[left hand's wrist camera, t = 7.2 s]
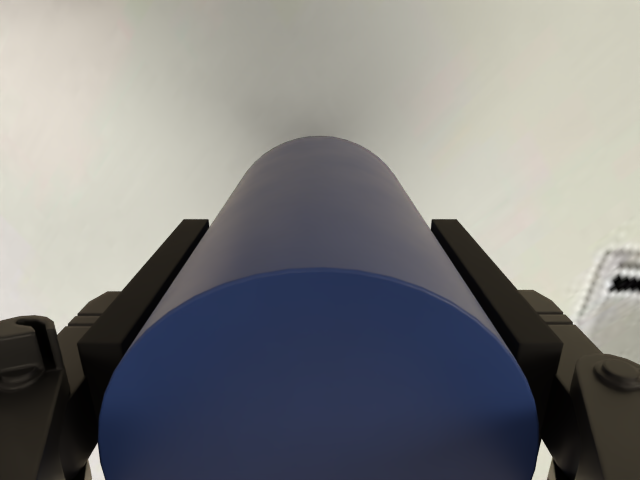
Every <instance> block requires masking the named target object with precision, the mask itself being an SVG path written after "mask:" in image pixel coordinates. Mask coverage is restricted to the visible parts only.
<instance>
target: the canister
mask: <svg viewBox="0 0 640 480" xmlns="http://www.w3.org/2000/svg"><path fill="white" fill-rule="evenodd" d="M98 448H99V456H100V463H101V467H102V470H103V473H104V477H105V480H532V477H533V474H534V471H535V467H536V461H537V456H538V450H539V422H538V416H537V411H536V405H535V400H534V398H533V395H532V392H531V389H530V387H529V384H528V381H527V379H526V377H525V375H524V373H523V372H522V370H521V368H520V366H519V365H518V363H517V361H516V359H515V358H514V356H513V355H512V353H511V351H510V350H509V348H508V347H507V345H506V344H505V342H504V341H503V339H502V338H501V336H500V335H499V333H498V332H497V330H496V329H495V327H494V326H493V324H492V323H491V321H490V320H489V318H488V317H487V315H486V313H485V312H484V310H483V309H482V307H481V306H480V304H479V303H478V301H477V300H476V298H475V297H474V295H473V294H472V292H471V291H470V289H469V288H468V286H467V285H466V283H465V282H464V280H463V278H462V277H461V275H460V274H459V272H458V271H457V269H456V268H455V266H454V265H453V263H452V262H451V260H450V259H449V257H448V256H447V254H446V253H445V251H444V250H443V248H442V247H441V245H440V244H439V242H438V240H437V239H436V237H435V236H434V234H433V233H432V231H431V230H430V228H429V227H428V225H427V224H426V222H425V221H424V219H423V218H422V216H421V215H420V213H419V212H418V210H417V209H416V207H415V206H414V204H413V202H412V201H411V199H410V198H409V196H408V195H407V193H406V192H405V190H404V189H403V187H402V186H401V184H400V183H399V181H398V180H397V178H396V177H395V175H394V174H393V172H392V171H391V170H390V169H389V167H388V166H387V165H386V164H385V163H384V162H383V161H382V160H381V159H380V158H379V157H377V156H376V155H375V154H373V153H372V152H371V151H369V150H368V149H366V148H364V147H362V146H360V145H358V144H356V143H353V142H350V141H348V140H344V139H340V138H335V137H327V136H311V137H304V138H298V139H294V140H291V141H288V142H285V143H283V144H281V145H279V146H277V147H275V148H273V149H271V150H270V151H268V152H267V153H265V154H264V155H263V156H261V157H260V158H259V159H258V160H257V161H256V162H255V163H254V164H253V165H252V166H251V167H250V168H249V169H248V171H247V172H246V173H245V175H244V176H243V178H242V179H241V181H240V182H239V184H238V185H237V187H236V188H235V190H234V191H233V193H232V194H231V196H230V197H229V199H228V200H227V202H226V203H225V205H224V206H223V208H222V209H221V211H220V212H219V214H218V215H217V217H216V218H215V220H214V221H213V223H212V224H211V226H210V227H209V229H208V230H207V232H206V233H205V235H204V236H203V238H202V239H201V241H200V242H199V244H198V245H197V247H196V248H195V250H194V251H193V253H192V254H191V256H190V257H189V259H188V260H187V262H186V263H185V265H184V266H183V268H182V269H181V271H180V272H179V274H178V275H177V277H176V278H175V280H174V281H173V283H172V284H171V286H170V287H169V289H168V290H167V292H166V293H165V295H164V296H163V298H162V299H161V301H160V302H159V304H158V305H157V307H156V308H155V310H154V311H153V313H152V314H151V316H150V317H149V319H148V320H147V322H146V323H145V325H144V326H143V328H142V329H141V331H140V332H139V334H138V335H137V337H136V338H135V340H134V341H133V343H132V344H131V346H130V347H129V349H128V350H127V352H126V353H125V355H124V356H123V358H122V359H121V361H120V363H119V364H118V366H117V367H116V369H115V370H114V372H113V374H112V377H111V379H110V381H109V384H108V386H107V388H106V391H105V393H104V397H103V401H102V405H101V410H100V414H99V424H98Z"/></svg>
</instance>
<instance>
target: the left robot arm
mask: <svg viewBox="0 0 640 480" xmlns="http://www.w3.org/2000/svg"><path fill="white" fill-rule="evenodd" d="M208 229H209V220H208V219H184V220H183V221H182V222H181V223H180V224H179V225H178V227H177V228H176V229H175V230H174V231H173V232H172V234H171V235H170V236H169V237H168V238H167V239H166V240H165V242H164V243H163V244H162V245H161V246H160V247H159V249H158V250H157V251H156V252H155V253H154V254H153V256H152V257H151V258H150V259H149V260H148V261H147V262H146V264H145V265H144V266H143V267H142V268H141V269H140V271H139V272H138V273H137V274H136V275H135V276H134V278H133V279H132V280H131V281H130V282H129V283H128V284H127V286H126V287H125V288H124V289H123V290H122V291H107V292H106V293H104V294H102V295H100V296H99V297H97V298H95V299H93V300H91V301H90V302H89V303H88V304H87V305H86V306H85V307H84V308H83V309H82V310H81V311H80V312H79V313H78V316H75V317H74V318H73V319H72V320H71V321H70V322H69V323H68V326H65V327H64V329H63V330H62V331H61V332H60V333H59V334H58V335H57V333H56V329H55V325H54V322H53V321H52V320H50V319H49V318H47V317H43V316H36V315H31V316H19V317H14V318H10V319H6V320H2V321H0V480H92V476H91V470H90V465H89V461H88V458H89V457H90V455H91V453H92V451H93V450H94V448H95V446H96V445H97V443H98V424H99V414H100V410H101V405H102V401H103V397H104V393H105V391H106V388H107V386H108V384H109V381H110V379H111V377H112V374H113V372H114V370H115V369H116V367H117V366H118V364H119V363H120V361H121V359H122V358H123V356H124V355H125V353H126V352H127V350H128V349H129V347H130V346H131V344H132V343H133V341H134V340H135V338H136V337H137V335H138V334H139V332H140V331H141V329H142V328H143V326H144V325H145V323H146V322H147V320H148V319H149V317H150V316H151V314H152V313H153V311H154V310H155V308H156V307H157V305H158V304H159V302H160V301H161V299H162V298H163V296H164V295H165V293H166V292H167V290H168V289H169V287H170V286H171V284H172V283H173V281H174V280H175V278H176V277H177V275H178V274H179V272H180V271H181V269H182V268H183V266H184V265H185V263H186V262H187V260H188V259H189V257H190V256H191V254H192V253H193V251H194V250H195V248H196V247H197V245H198V244H199V242H200V241H201V239H202V238H203V236H204V235H205V233H206V232H207V230H208ZM431 231H432V233H433V234H434V236H435V237H436V239H437V240H438V242H439V244H440V245H441V247H442V248H443V250H444V251H445V253H446V254H447V256H448V257H449V259H450V260H451V262H452V263H453V265H454V266H455V268H456V269H457V271H458V272H459V274H460V275H461V277H462V278H463V280H464V282H465V283H466V285H467V286H468V288H469V289H470V291H471V292H472V294H473V295H474V297H475V298H476V300H477V301H478V303H479V304H480V306H481V307H482V309H483V310H484V312H485V313H486V315H487V317H488V318H489V320H490V321H491V323H492V324H493V326H494V327H495V329H496V330H497V332H498V333H499V335H500V336H501V338H502V339H503V341H504V342H505V344H506V345H507V347H508V348H509V350H510V351H511V353H512V355H513V356H514V358H515V359H516V361H517V363H518V365H519V366H520V368H521V370H522V372H523V373H524V375H525V377H526V379H527V381H528V384H529V387H530V389H531V392H532V395H533V398H534V400H535V405H536V411H537V416H538V422H539V447H540V443H541V439H542V440H543V442H544V443H545V445H546V447H547V448H548V450H549V452H550V454H551V455H552V461H551V465H550V469H549V473H548V477H547V480H640V365H639V364H637V363H635V362H632V361H630V360H628V359H625V358H622V357H618V356H614V355H610V354H603V353H602V352H601V351H600V350H599V349H598V348H597V347H596V346H595V345H594V344H593V343H592V342H591V341H590V340H589V339H588V337H587V336H586V335H585V334H584V333H583V332H582V331H581V330H580V329H579V328H578V327H577V326H576V325H573V322H572V321H571V320H570V319H569V318H568V317H567V316H566V315H563V312H562V311H561V310H560V309H559V308H558V307H557V305H556V304H555V303H554V302H553V301H552V300H550V299H548V298H546V297H545V296H543V295H541V294H539V293H538V292H536V291H534V290H517V289H516V288H515V286H514V285H513V284H512V283H511V282H510V281H509V279H508V278H507V277H506V276H505V275H504V274H503V273H502V271H501V270H500V269H499V268H498V267H497V266H496V264H495V263H494V262H493V261H492V260H491V259H490V257H489V256H488V255H487V254H486V253H485V252H484V251H483V249H482V248H481V247H480V246H479V245H478V244H477V242H476V241H475V240H474V239H473V238H472V237H471V236H470V234H469V233H468V232H467V231H466V230H465V229H464V227H463V226H462V225H461V224H460V223H459V222H458V220H457V219H432V223H431ZM538 452H539V450H538Z"/></svg>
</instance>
